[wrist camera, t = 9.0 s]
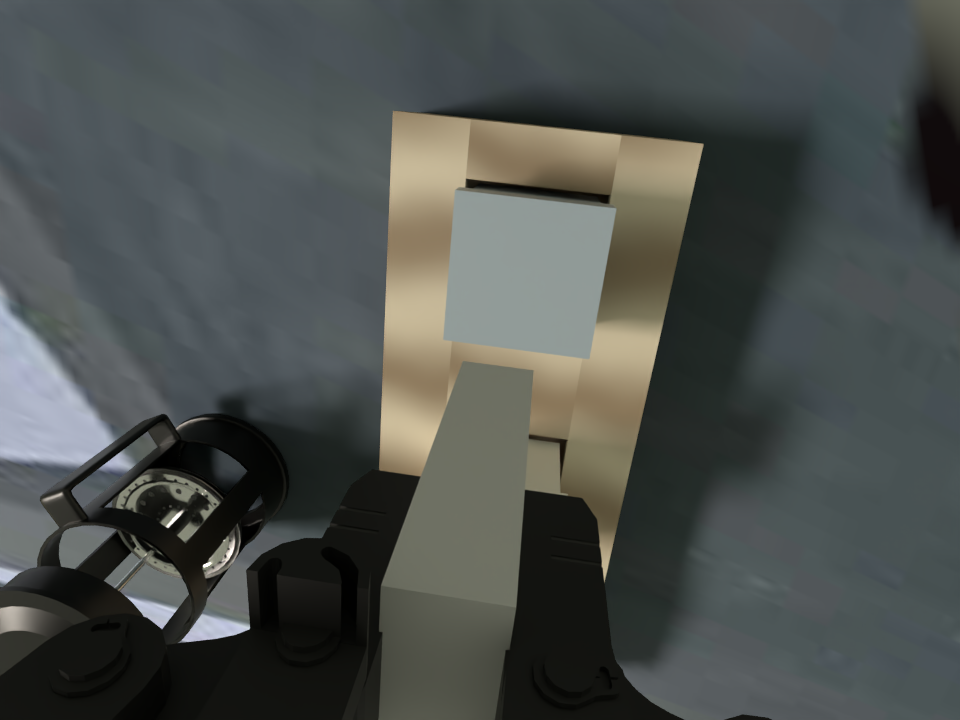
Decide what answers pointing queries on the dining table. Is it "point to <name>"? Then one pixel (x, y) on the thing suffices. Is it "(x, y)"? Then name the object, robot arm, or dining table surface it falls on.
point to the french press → (146, 531)
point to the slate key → (526, 269)
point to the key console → (556, 379)
